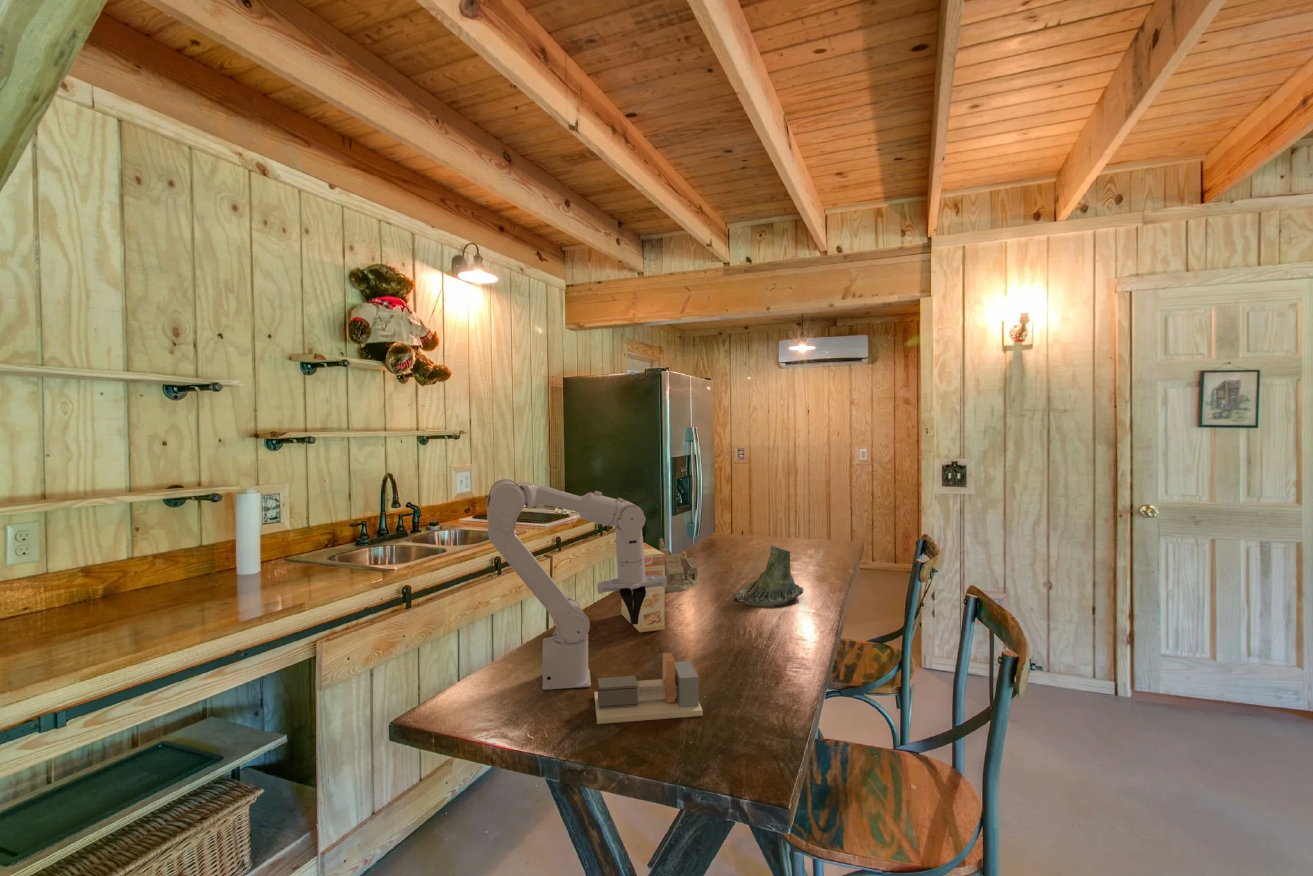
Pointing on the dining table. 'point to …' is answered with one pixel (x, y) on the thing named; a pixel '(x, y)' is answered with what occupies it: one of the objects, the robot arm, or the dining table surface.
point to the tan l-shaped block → (660, 683)
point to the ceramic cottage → (679, 570)
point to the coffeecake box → (651, 594)
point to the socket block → (687, 684)
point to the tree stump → (772, 583)
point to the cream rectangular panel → (633, 703)
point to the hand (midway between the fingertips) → (634, 622)
